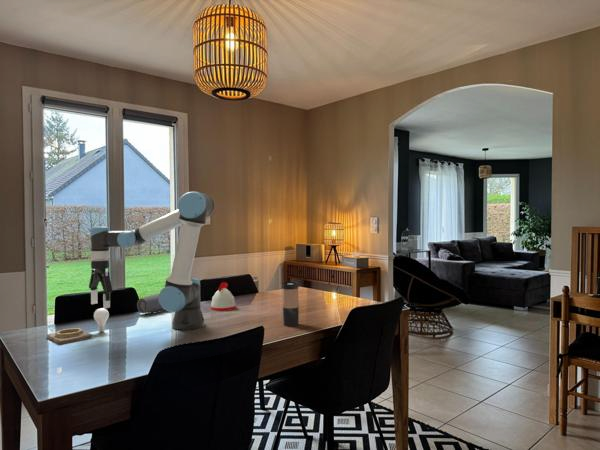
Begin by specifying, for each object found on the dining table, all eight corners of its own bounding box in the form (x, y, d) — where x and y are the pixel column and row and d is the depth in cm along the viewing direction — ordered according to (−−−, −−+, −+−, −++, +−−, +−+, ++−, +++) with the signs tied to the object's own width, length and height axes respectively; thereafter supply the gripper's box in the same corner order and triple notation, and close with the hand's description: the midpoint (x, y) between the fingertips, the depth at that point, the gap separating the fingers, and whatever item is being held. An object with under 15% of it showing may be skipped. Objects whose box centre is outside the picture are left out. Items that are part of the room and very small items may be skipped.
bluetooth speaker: (147, 316, 227) (147, 297, 227) (136, 314, 232) (136, 296, 231) (180, 308, 246) (180, 291, 246) (169, 307, 251) (169, 290, 251)
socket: (92, 337, 186) (92, 331, 186) (59, 344, 176) (59, 337, 176) (78, 331, 197) (78, 325, 197) (46, 337, 187) (46, 331, 187)
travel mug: (301, 323, 206) (300, 282, 206) (295, 327, 199) (295, 284, 199) (286, 322, 209) (285, 281, 208) (280, 326, 202) (280, 284, 201)
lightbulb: (97, 330, 199) (96, 307, 198) (111, 329, 199) (110, 306, 199) (91, 334, 192) (91, 309, 192) (106, 333, 193) (105, 309, 193)
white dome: (240, 307, 247) (239, 281, 247) (225, 311, 235) (225, 285, 235) (221, 305, 254) (220, 280, 254) (205, 309, 242) (205, 283, 241)
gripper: (120, 261, 190) (120, 308, 190) (97, 257, 207) (97, 301, 207) (103, 262, 184) (103, 311, 184) (81, 258, 201) (81, 303, 201)
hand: (100, 305), depth 196 cm, fingers open, 13 cm apart
